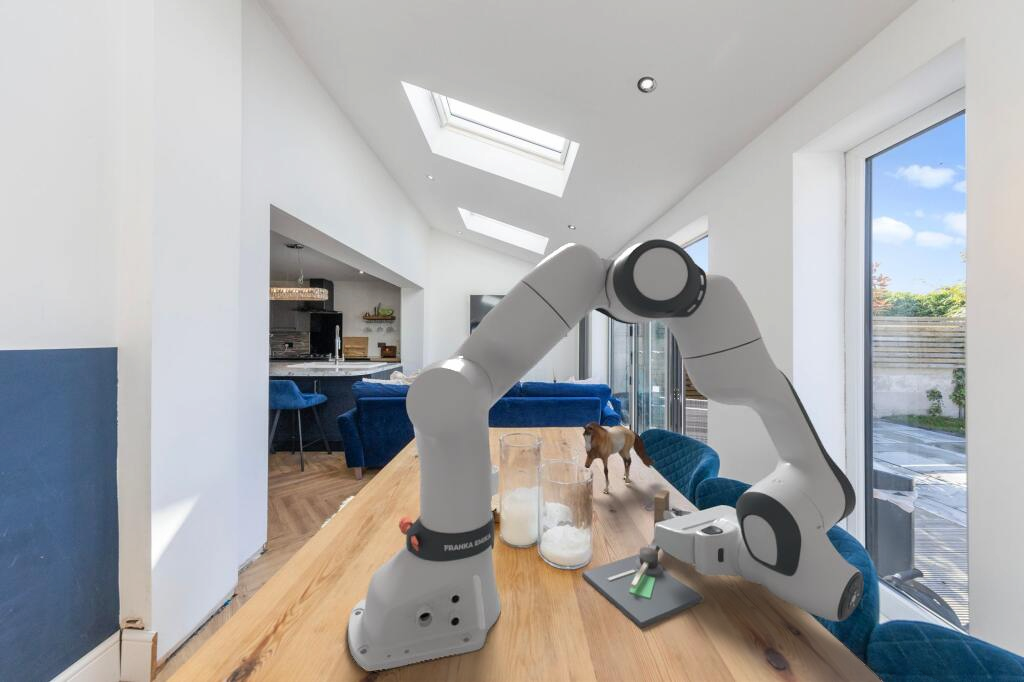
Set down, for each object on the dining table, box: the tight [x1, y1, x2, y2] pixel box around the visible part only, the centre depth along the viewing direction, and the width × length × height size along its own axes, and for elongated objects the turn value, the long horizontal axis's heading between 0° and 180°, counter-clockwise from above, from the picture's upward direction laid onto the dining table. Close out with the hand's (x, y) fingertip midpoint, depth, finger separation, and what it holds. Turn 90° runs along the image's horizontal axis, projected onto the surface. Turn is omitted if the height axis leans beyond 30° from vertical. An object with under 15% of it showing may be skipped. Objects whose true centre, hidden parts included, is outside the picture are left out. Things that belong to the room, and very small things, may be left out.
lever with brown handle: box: [631, 488, 670, 589], centre depth 72 cm, size 22×3×10 cm, turn 146°
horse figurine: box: [582, 421, 656, 493], centre depth 113 cm, size 31×8×21 cm, turn 127°
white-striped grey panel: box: [581, 553, 704, 629], centre depth 66 cm, size 14×14×1 cm
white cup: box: [491, 464, 500, 501], centre depth 97 cm, size 8×8×10 cm
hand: (669, 512), depth 77 cm, fingers closed
